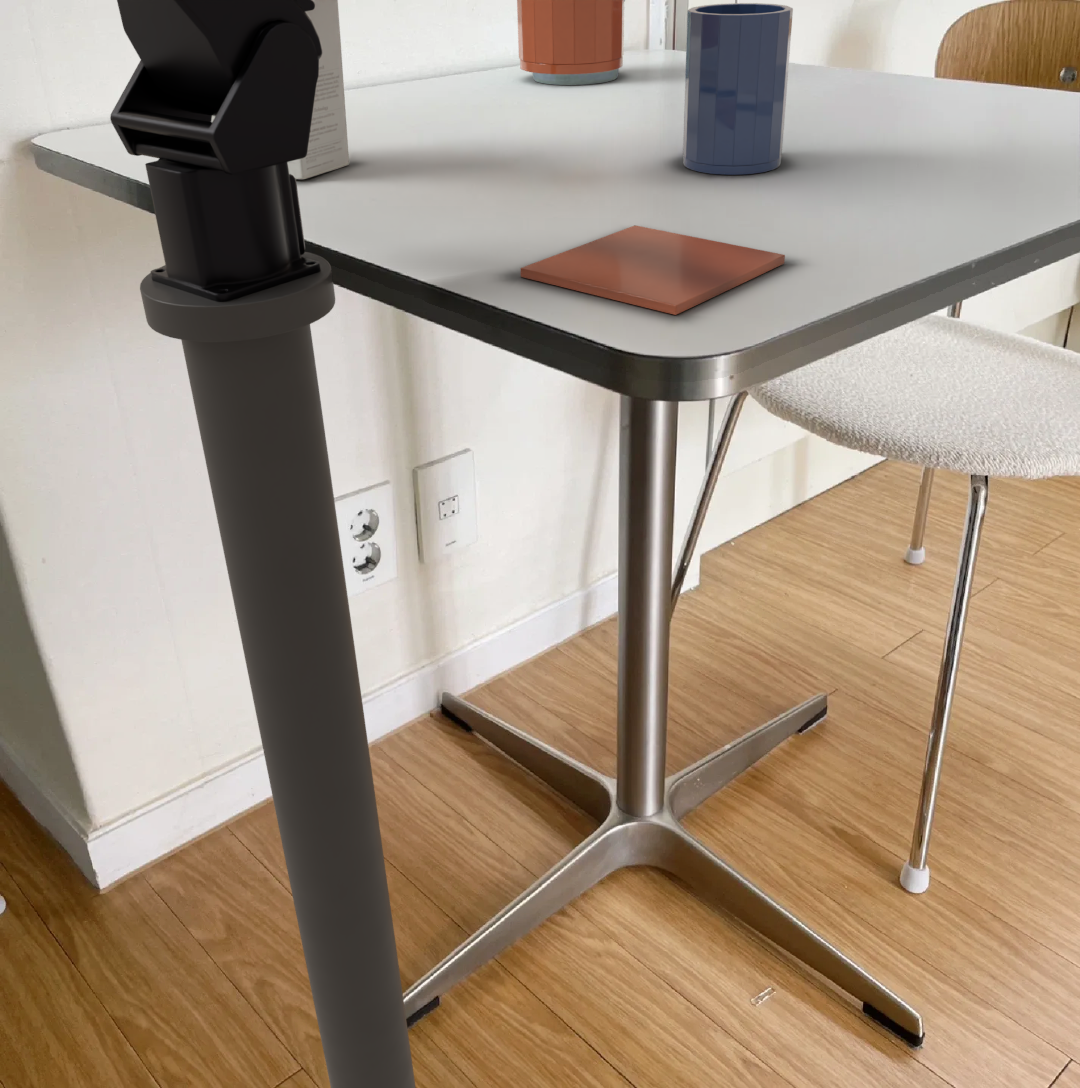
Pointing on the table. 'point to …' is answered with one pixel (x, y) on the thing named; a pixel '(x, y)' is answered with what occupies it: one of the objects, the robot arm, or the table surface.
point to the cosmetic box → (326, 100)
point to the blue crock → (736, 87)
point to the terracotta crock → (570, 36)
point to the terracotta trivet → (653, 268)
